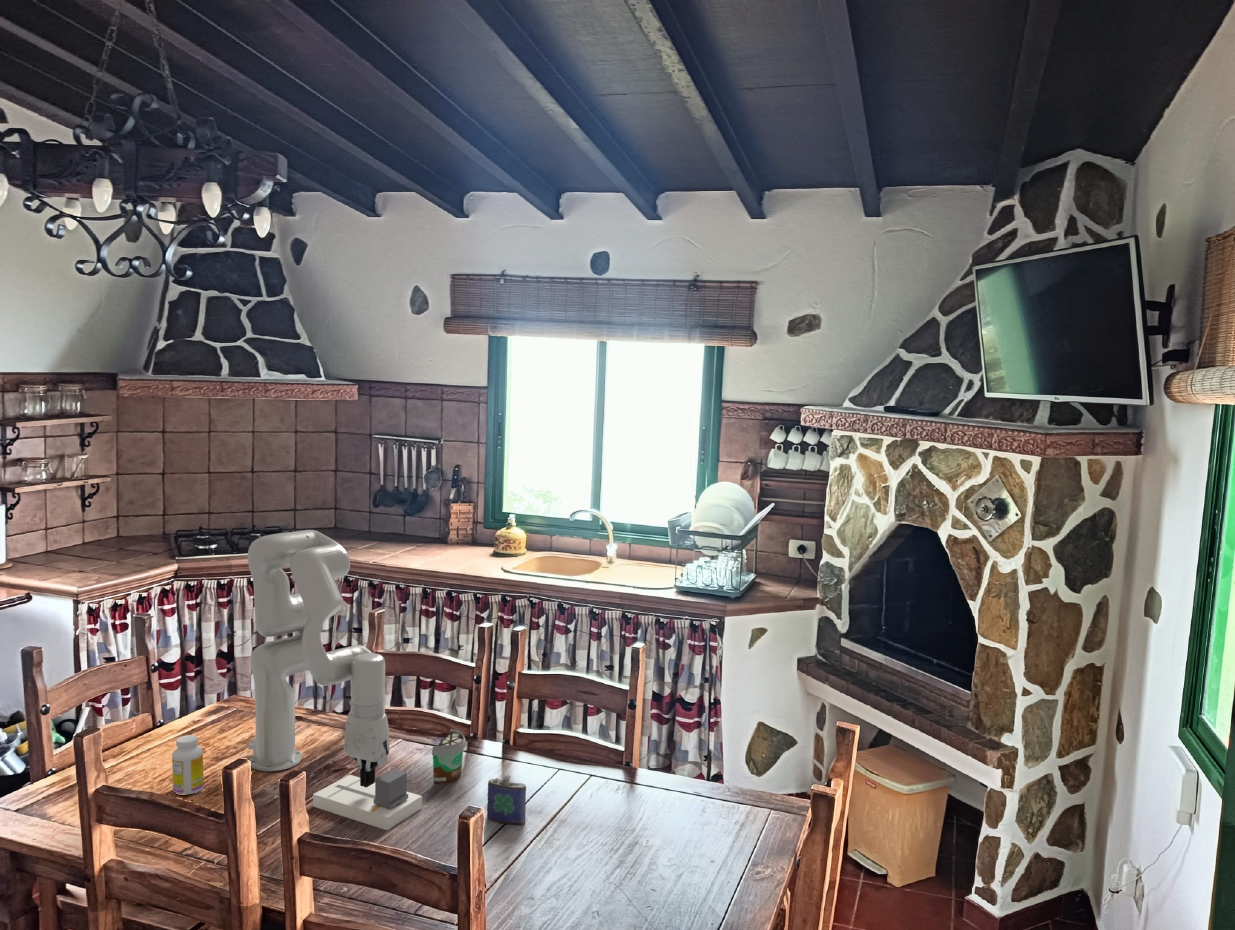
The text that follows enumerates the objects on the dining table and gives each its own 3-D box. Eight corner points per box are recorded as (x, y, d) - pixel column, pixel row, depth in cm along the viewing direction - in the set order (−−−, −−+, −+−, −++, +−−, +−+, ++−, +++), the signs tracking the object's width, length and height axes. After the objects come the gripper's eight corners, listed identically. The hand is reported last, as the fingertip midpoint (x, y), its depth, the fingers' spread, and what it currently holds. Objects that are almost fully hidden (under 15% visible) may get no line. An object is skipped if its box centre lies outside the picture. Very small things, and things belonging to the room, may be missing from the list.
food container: (455, 789, 227) (455, 749, 226) (431, 786, 228) (431, 747, 227) (472, 768, 239) (473, 730, 238) (450, 765, 240) (450, 728, 239)
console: (313, 806, 216) (313, 793, 216) (349, 786, 227) (349, 774, 226) (387, 830, 206) (387, 817, 206) (421, 808, 217) (421, 795, 217)
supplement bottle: (205, 783, 226) (204, 732, 225) (202, 795, 220) (201, 742, 219) (175, 786, 224) (174, 734, 223) (170, 798, 218) (169, 745, 217)
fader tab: (373, 803, 212) (373, 778, 211) (391, 793, 217) (391, 768, 216) (390, 808, 209) (390, 783, 209) (408, 798, 215) (408, 773, 214)
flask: (527, 821, 212) (527, 776, 211) (522, 827, 210) (523, 781, 208) (489, 814, 215) (490, 770, 214) (484, 820, 212) (484, 775, 211)
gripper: (331, 706, 214) (331, 783, 216) (382, 720, 207) (381, 798, 209) (354, 697, 221) (354, 771, 223) (404, 709, 214) (403, 786, 216)
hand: (367, 784), depth 216 cm, fingers closed
